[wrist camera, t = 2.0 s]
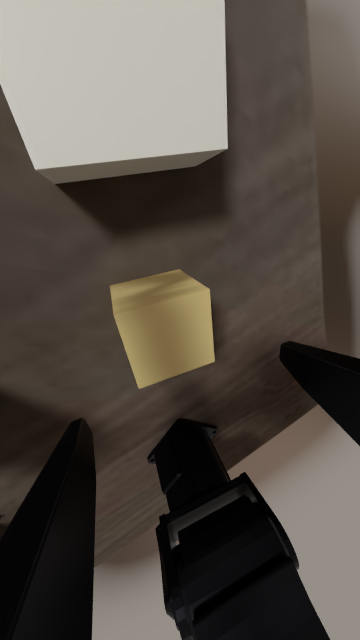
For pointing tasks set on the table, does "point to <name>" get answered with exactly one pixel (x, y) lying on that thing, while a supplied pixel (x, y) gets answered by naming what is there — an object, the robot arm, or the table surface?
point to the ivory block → (115, 84)
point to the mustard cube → (164, 325)
